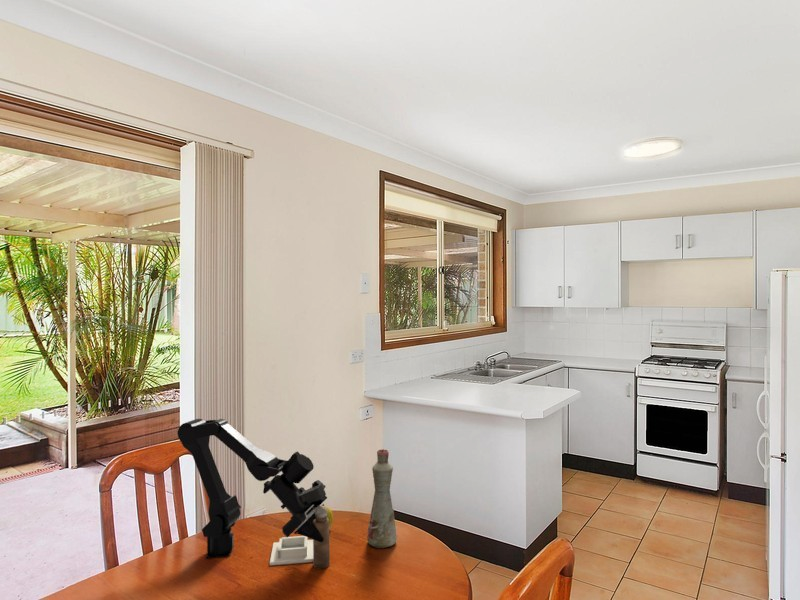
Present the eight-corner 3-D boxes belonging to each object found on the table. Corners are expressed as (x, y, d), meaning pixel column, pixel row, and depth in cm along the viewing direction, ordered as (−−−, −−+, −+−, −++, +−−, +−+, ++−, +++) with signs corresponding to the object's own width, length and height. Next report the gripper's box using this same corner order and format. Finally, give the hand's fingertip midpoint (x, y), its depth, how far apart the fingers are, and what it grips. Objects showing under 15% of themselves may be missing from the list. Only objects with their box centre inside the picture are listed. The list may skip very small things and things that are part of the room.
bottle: (387, 552, 149) (386, 455, 149) (361, 545, 154) (360, 450, 154) (402, 540, 157) (402, 447, 157) (377, 534, 161) (377, 443, 162)
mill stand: (269, 565, 142) (269, 554, 142) (273, 545, 154) (273, 535, 154) (314, 561, 144) (314, 550, 144) (314, 542, 156) (314, 532, 156)
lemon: (331, 535, 161) (331, 509, 161) (313, 535, 161) (313, 509, 161) (334, 527, 166) (334, 502, 166) (317, 527, 166) (316, 502, 166)
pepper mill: (313, 569, 140) (312, 509, 140) (313, 561, 144) (313, 503, 145) (329, 567, 141) (329, 508, 141) (329, 560, 145) (329, 502, 145)
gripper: (292, 486, 135) (333, 533, 132) (320, 464, 153) (356, 505, 150) (265, 514, 136) (304, 561, 134) (295, 489, 155) (331, 530, 152)
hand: (326, 537), depth 142 cm, fingers closed on pepper mill, 4 cm apart
